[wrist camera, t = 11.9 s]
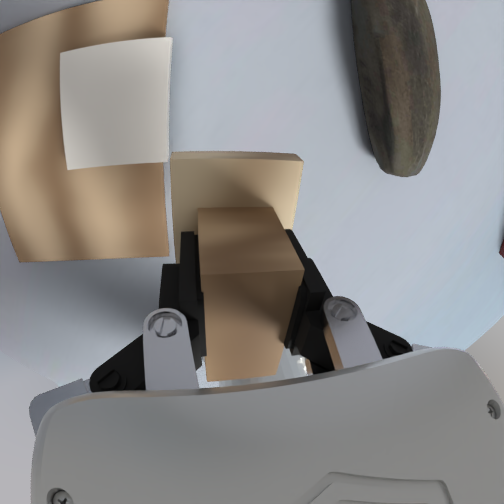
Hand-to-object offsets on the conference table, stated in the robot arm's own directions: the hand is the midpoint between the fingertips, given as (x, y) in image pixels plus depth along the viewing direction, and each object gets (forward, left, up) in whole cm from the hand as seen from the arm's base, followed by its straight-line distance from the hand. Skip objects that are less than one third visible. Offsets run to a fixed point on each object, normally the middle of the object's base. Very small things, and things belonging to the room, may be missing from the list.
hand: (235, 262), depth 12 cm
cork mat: (+11, -3, -10) cm, 16 cm away
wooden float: (0, +1, -2) cm, 2 cm away
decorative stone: (-13, -10, -11) cm, 19 cm away
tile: (+7, -2, -9) cm, 11 cm away
